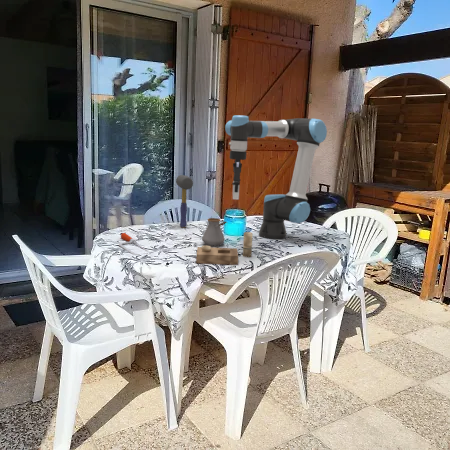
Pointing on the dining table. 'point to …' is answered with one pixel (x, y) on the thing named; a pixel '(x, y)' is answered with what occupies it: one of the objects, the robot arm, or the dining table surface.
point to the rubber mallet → (184, 196)
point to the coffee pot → (213, 233)
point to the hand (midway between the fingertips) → (235, 197)
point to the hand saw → (130, 240)
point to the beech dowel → (247, 244)
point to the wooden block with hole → (217, 255)
